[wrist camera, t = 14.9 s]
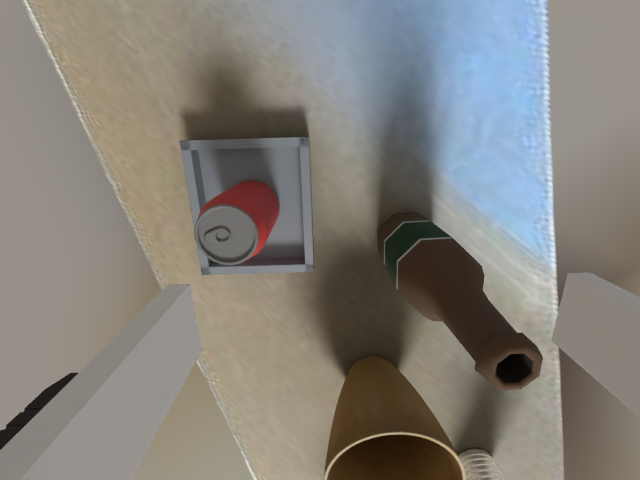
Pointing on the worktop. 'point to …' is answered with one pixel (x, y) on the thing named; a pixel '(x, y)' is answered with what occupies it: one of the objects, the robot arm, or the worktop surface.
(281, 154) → the tray
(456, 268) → the beer bottle
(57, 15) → the worktop surface
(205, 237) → the beer can
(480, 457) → the water bottle
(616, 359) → the robot arm
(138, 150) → the worktop surface
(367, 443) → the plant pot
